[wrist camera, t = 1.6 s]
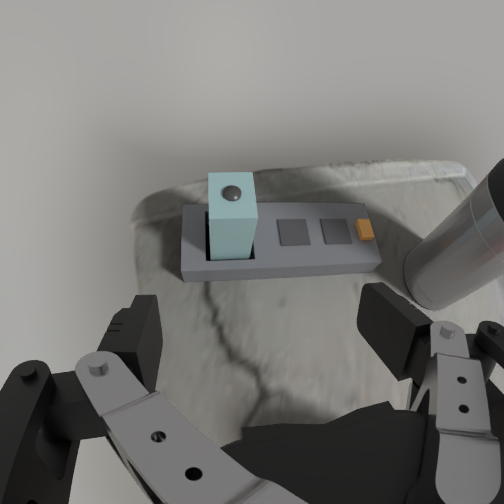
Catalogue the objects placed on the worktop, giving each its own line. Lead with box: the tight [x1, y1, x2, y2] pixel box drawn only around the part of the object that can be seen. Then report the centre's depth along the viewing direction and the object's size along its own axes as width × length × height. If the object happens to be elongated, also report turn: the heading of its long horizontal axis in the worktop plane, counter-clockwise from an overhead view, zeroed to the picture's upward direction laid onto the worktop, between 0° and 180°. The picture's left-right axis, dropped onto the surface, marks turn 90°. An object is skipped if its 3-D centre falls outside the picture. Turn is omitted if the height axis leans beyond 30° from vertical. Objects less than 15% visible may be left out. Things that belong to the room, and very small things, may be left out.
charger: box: [208, 172, 258, 261], centre depth 30 cm, size 4×5×10 cm
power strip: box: [181, 202, 382, 282], centre depth 34 cm, size 22×8×4 cm, turn 95°
